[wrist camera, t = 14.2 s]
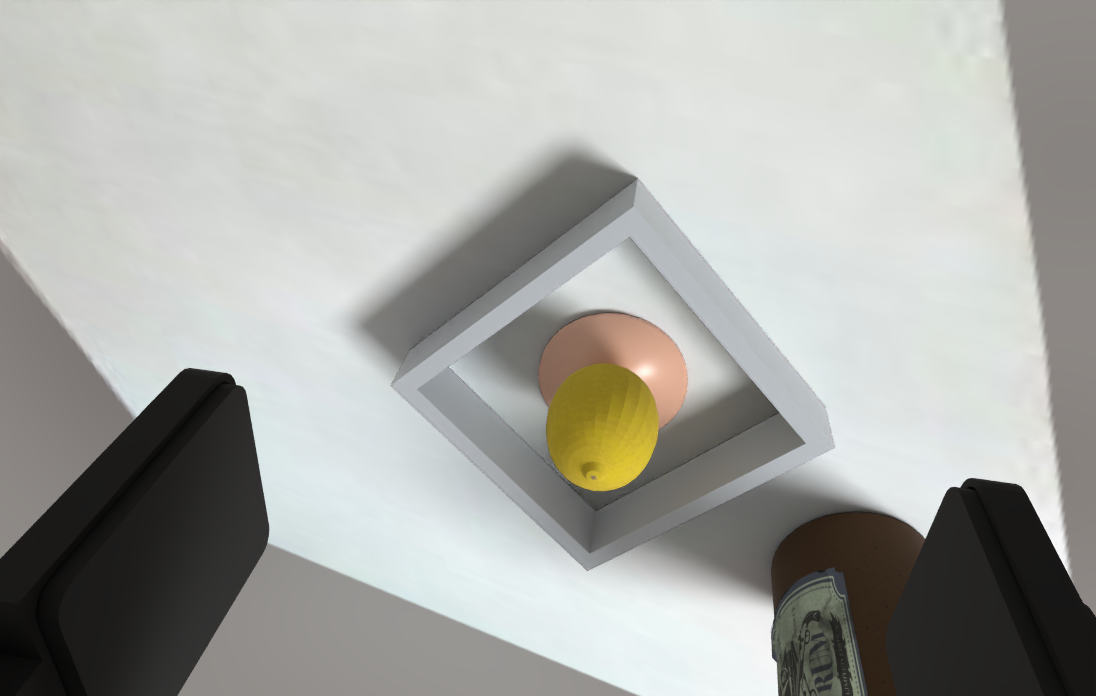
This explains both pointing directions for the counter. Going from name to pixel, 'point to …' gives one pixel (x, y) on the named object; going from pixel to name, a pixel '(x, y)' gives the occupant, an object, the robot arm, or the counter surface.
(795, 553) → the brown glass bottle
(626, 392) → the lemon
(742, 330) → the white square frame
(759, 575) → the counter surface
